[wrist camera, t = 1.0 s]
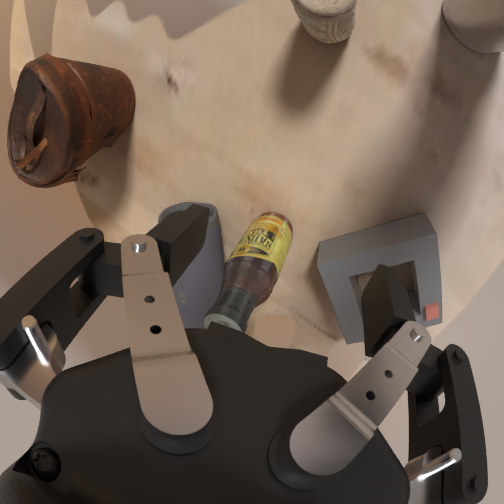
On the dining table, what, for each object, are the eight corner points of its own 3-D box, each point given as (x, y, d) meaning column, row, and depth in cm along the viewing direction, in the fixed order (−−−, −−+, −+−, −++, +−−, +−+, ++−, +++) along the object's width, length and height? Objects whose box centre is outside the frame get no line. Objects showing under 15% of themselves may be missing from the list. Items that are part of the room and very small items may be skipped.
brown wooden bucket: (75, 158, 44) (3, 196, 29) (75, 58, 33) (-8, 71, 18) (147, 167, 41) (66, 215, 27) (153, 44, 30) (59, 39, 16)
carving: (342, -8, 21) (344, -48, 11) (361, 42, 24) (375, 19, 14) (293, 1, 23) (273, -36, 13) (311, 50, 27) (301, 30, 17)
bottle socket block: (423, 212, 33) (438, 236, 28) (434, 297, 39) (443, 326, 34) (319, 241, 40) (316, 268, 35) (347, 318, 46) (346, 348, 41)
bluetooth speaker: (176, 196, 43) (140, 225, 35) (232, 201, 41) (204, 233, 33) (192, 303, 55) (169, 339, 47) (236, 313, 53) (218, 353, 45)
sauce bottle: (286, 205, 39) (245, 300, 23) (299, 243, 41) (270, 349, 25) (244, 215, 41) (182, 306, 25) (259, 251, 44) (211, 350, 28)
